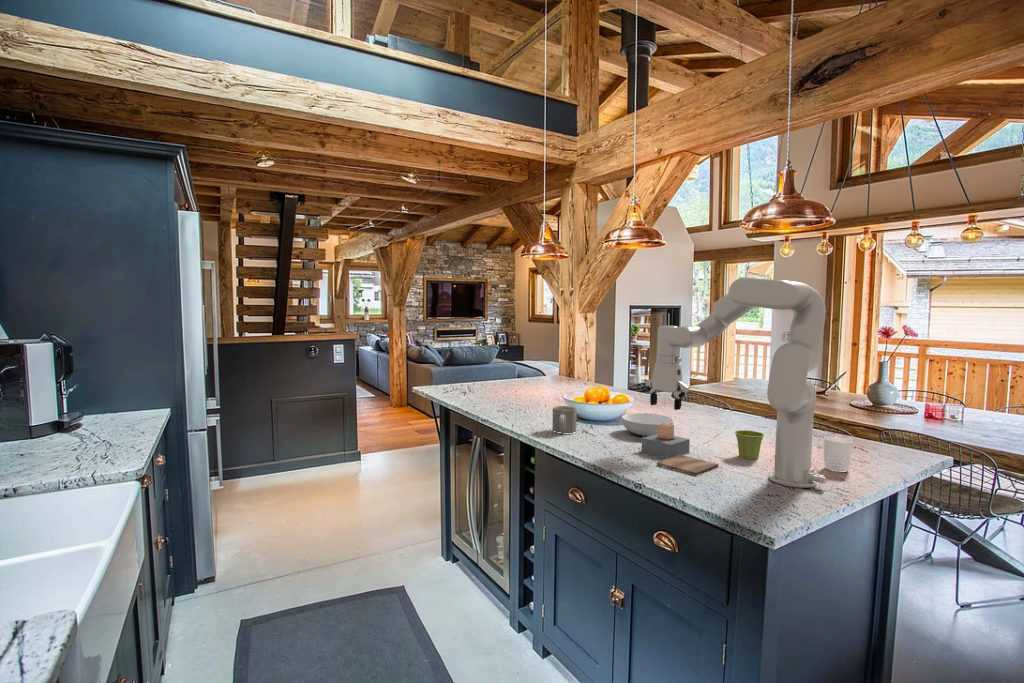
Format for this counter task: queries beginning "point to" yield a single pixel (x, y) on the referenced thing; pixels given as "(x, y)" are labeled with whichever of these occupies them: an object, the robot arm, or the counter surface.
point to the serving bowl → (644, 423)
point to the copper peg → (666, 432)
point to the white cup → (837, 453)
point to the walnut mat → (688, 464)
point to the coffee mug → (564, 419)
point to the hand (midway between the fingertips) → (665, 407)
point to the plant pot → (749, 443)
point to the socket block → (665, 446)
